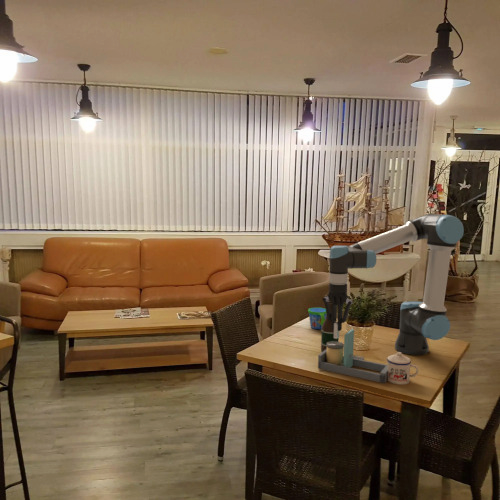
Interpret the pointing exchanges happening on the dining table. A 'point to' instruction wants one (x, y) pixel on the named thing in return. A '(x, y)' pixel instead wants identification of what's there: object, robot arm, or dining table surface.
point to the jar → (334, 353)
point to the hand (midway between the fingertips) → (336, 337)
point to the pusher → (349, 349)
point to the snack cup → (317, 317)
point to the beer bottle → (327, 332)
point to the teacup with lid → (399, 369)
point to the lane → (355, 372)
